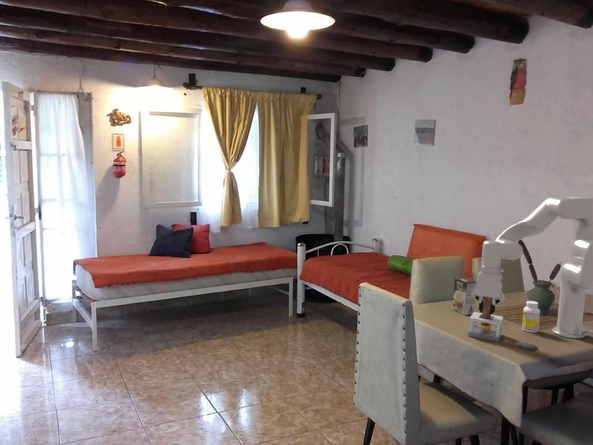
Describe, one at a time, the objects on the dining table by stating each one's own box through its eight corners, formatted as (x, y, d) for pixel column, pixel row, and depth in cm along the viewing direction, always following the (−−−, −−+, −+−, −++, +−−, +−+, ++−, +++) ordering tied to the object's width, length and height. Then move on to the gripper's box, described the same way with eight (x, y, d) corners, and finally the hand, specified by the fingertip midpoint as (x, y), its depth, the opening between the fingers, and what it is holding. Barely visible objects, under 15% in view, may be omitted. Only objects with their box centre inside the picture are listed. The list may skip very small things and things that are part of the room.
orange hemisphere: (491, 328, 221) (491, 323, 221) (489, 331, 218) (490, 326, 217) (481, 326, 223) (481, 322, 223) (479, 329, 220) (480, 324, 219)
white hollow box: (501, 334, 222) (503, 316, 221) (498, 341, 214) (499, 322, 213) (472, 329, 228) (473, 311, 227) (468, 336, 219) (469, 317, 218)
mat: (537, 346, 210) (537, 345, 210) (536, 351, 204) (536, 350, 204) (519, 342, 213) (519, 341, 213) (517, 348, 207) (517, 347, 207)
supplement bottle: (524, 327, 234) (526, 299, 232) (540, 330, 229) (542, 302, 228) (519, 330, 228) (522, 302, 227) (535, 334, 224) (538, 305, 223)
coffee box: (451, 309, 257) (453, 278, 255) (462, 308, 259) (464, 277, 257) (463, 315, 249) (466, 282, 247) (474, 314, 251) (477, 281, 249)
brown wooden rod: (490, 324, 221) (493, 291, 219) (489, 326, 218) (492, 293, 216) (481, 322, 222) (484, 290, 221) (480, 324, 219) (483, 292, 218)
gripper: (512, 271, 216) (508, 314, 219) (471, 266, 224) (467, 307, 227) (510, 274, 210) (506, 318, 212) (467, 269, 218) (464, 311, 220)
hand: (486, 312), depth 219 cm, fingers closed on brown wooden rod, 3 cm apart
